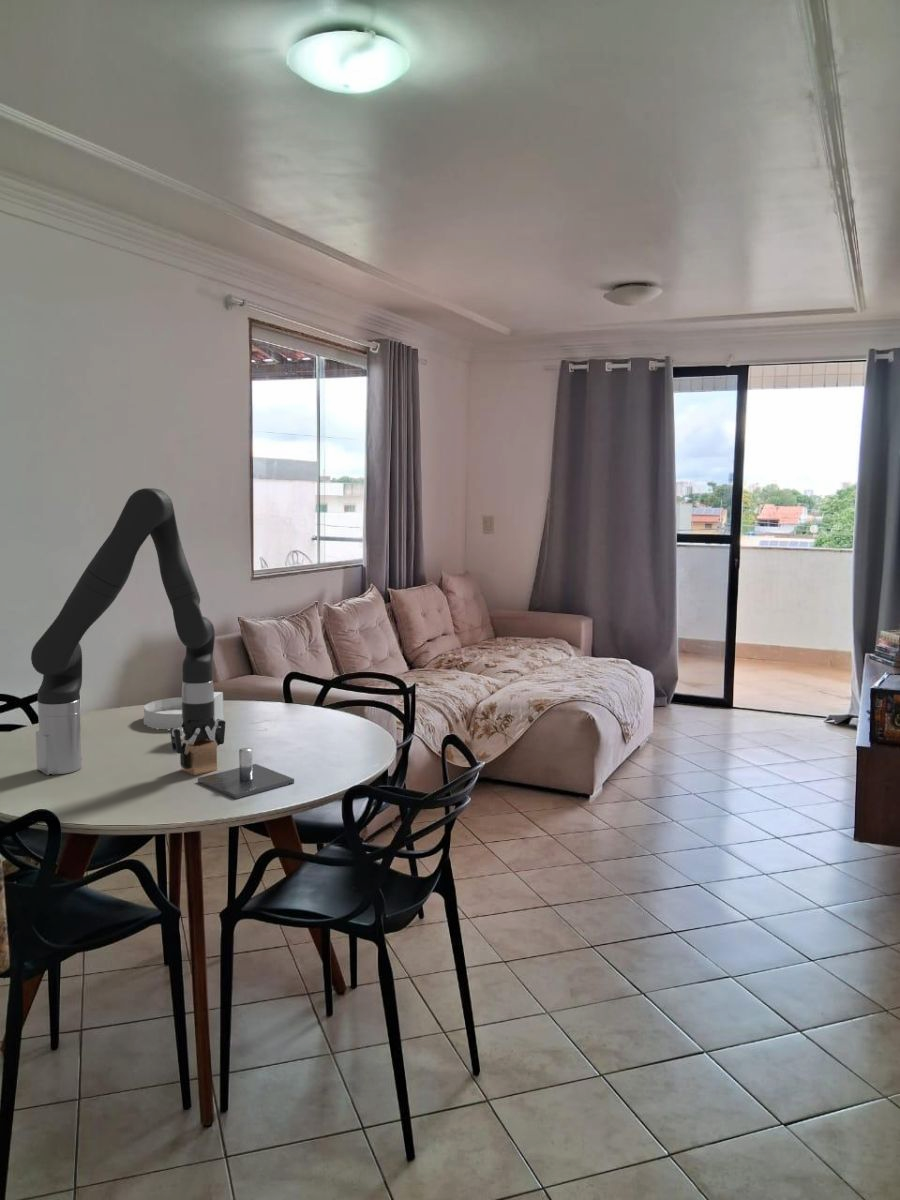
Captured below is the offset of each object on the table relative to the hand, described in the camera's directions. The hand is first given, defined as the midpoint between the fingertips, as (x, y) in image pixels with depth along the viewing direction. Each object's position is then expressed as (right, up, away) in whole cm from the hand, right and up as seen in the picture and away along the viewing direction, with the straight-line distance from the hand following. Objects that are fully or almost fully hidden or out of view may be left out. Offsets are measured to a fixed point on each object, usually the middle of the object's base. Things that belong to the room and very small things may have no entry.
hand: (198, 765), depth 213 cm
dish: (-18, +4, +46) cm, 50 cm away
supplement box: (-6, +2, +27) cm, 28 cm away
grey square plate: (+14, -2, -9) cm, 16 cm away
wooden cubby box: (0, -1, 0) cm, 1 cm away
